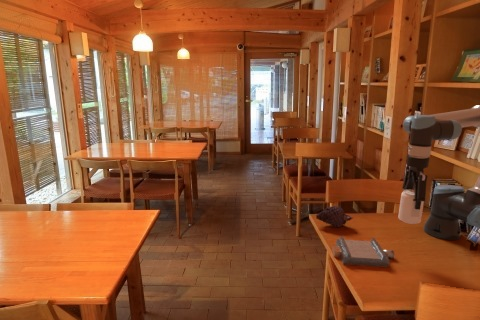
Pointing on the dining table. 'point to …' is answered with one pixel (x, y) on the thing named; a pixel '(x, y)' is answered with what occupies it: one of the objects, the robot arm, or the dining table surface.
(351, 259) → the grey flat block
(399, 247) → the dining table surface
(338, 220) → the pine cone
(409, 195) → the beverage can
